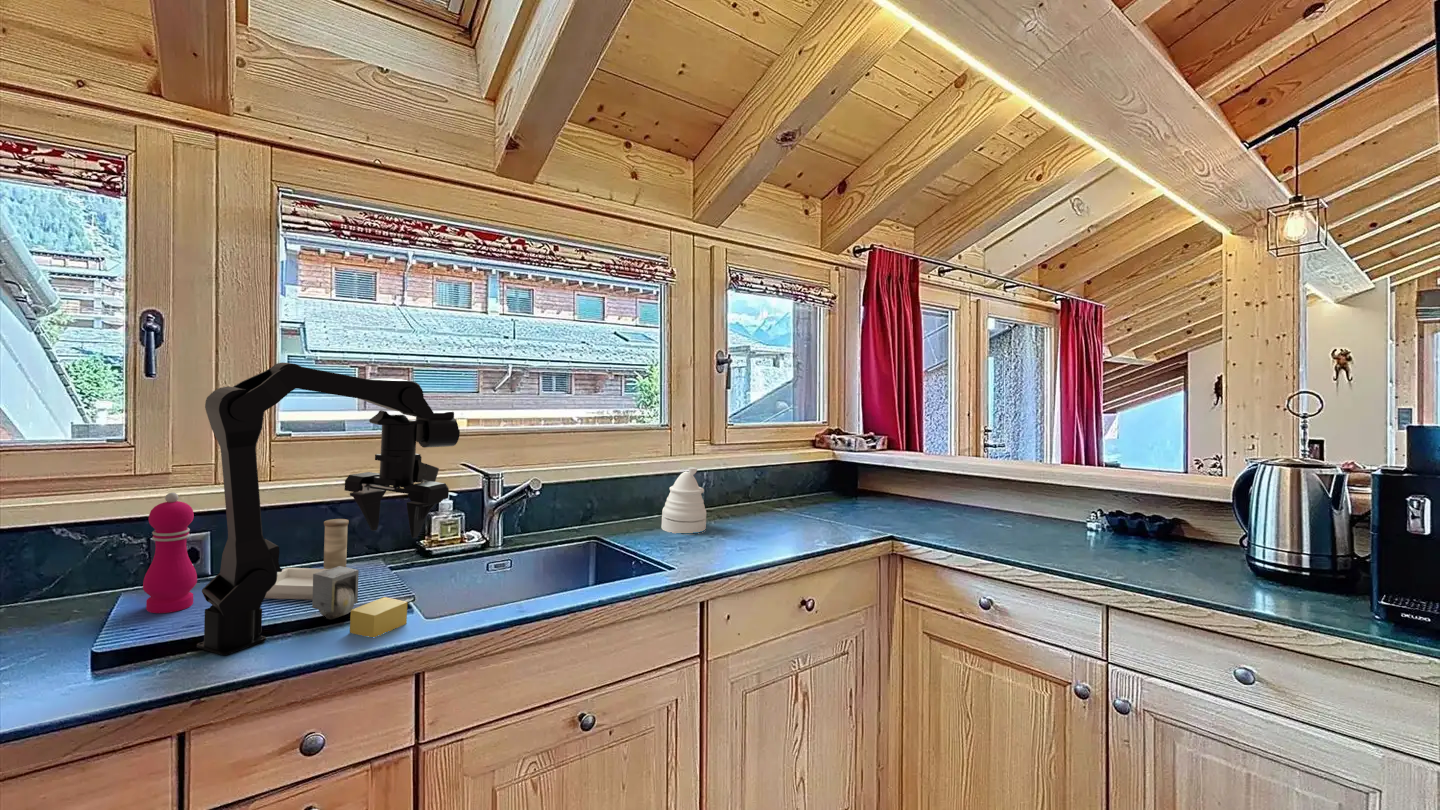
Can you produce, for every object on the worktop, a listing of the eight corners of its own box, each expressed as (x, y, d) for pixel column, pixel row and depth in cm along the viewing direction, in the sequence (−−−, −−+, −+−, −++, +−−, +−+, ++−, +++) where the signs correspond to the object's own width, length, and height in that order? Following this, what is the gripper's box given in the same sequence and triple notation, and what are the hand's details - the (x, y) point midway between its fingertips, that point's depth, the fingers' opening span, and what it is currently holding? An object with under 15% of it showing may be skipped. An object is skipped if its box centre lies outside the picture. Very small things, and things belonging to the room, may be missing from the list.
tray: (325, 599, 123) (325, 586, 123) (255, 598, 122) (256, 584, 121) (349, 581, 133) (350, 569, 133) (285, 580, 132) (285, 567, 131)
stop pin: (333, 579, 134) (334, 525, 133) (317, 575, 135) (318, 522, 135) (352, 573, 138) (353, 520, 137) (336, 569, 139) (337, 517, 139)
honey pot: (714, 528, 195) (718, 468, 194) (688, 536, 184) (692, 472, 183) (678, 521, 202) (682, 462, 201) (652, 528, 191) (655, 466, 190)
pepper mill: (166, 617, 111) (167, 498, 110) (131, 611, 112) (132, 494, 111) (207, 602, 118) (209, 491, 117) (174, 597, 120) (175, 487, 118)
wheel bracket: (334, 625, 112) (335, 579, 112) (308, 618, 114) (309, 573, 114) (360, 614, 117) (362, 570, 117) (335, 608, 119) (336, 565, 119)
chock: (373, 639, 108) (374, 615, 108) (349, 633, 110) (350, 610, 110) (406, 624, 115) (407, 601, 115) (383, 619, 116) (384, 596, 116)
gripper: (471, 450, 125) (466, 532, 126) (391, 440, 131) (388, 518, 132) (428, 456, 115) (423, 545, 116) (344, 444, 121) (340, 530, 121)
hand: (394, 533), depth 121 cm, fingers open, 9 cm apart
